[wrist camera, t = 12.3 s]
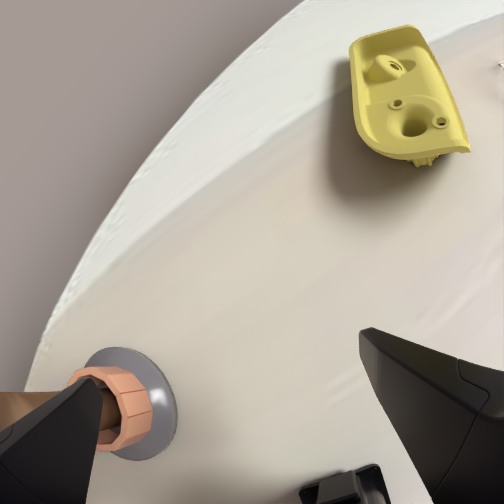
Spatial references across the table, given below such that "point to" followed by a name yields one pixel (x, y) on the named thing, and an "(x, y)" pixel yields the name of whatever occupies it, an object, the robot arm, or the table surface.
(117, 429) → the ring
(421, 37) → the plastic component
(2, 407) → the walnut rail post
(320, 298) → the table surface
